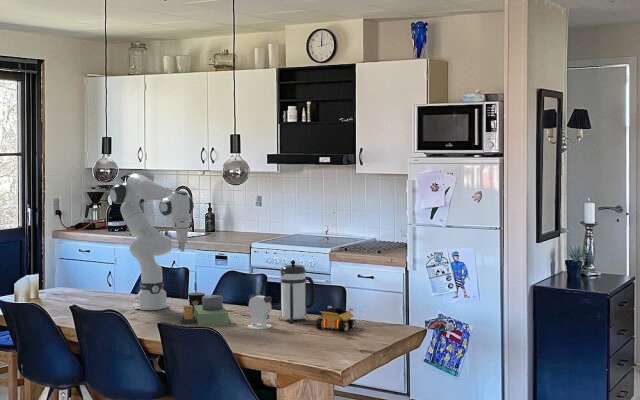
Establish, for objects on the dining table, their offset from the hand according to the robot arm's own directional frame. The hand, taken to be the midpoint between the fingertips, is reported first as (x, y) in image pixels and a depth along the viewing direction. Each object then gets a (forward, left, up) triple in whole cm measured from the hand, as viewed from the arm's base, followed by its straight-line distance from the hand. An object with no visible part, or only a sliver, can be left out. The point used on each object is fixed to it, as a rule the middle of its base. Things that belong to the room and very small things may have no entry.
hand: (181, 250), depth 425 cm
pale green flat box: (+16, +5, -34) cm, 38 cm away
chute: (+14, -2, -34) cm, 37 cm away
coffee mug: (-6, +11, -34) cm, 37 cm away
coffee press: (+36, +46, -34) cm, 68 cm away
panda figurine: (+42, +24, -34) cm, 59 cm away
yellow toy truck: (+64, +54, -35) cm, 90 cm away
